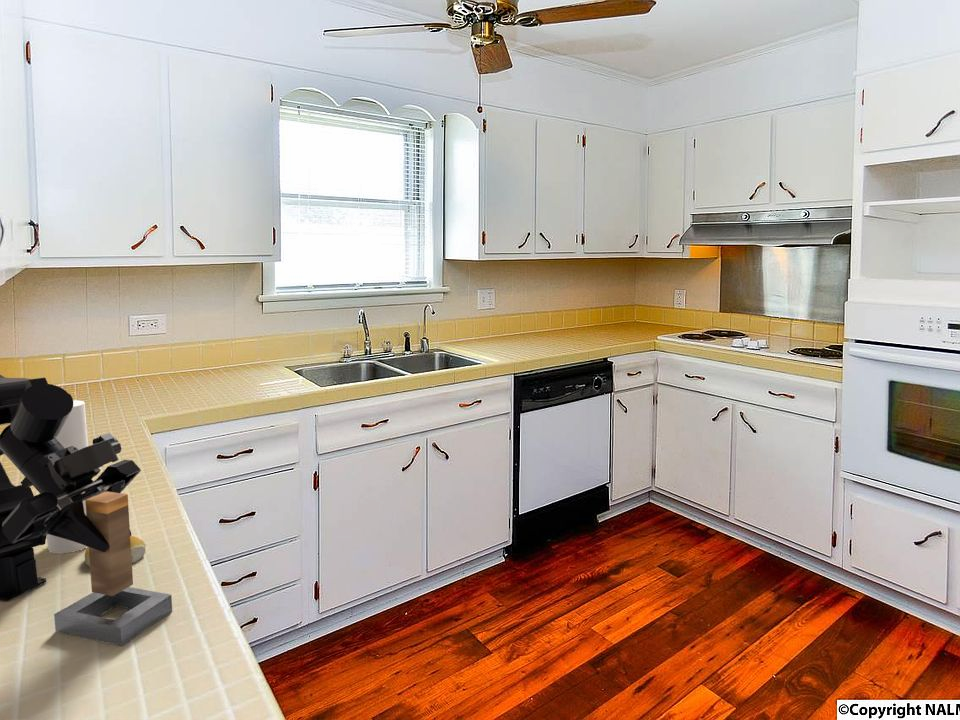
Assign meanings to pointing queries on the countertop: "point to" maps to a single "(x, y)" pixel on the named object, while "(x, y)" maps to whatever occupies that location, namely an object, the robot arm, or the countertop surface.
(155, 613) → the grey rectangular frame
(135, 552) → the bread roll
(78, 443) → the cylindrical container
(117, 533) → the walnut pin
